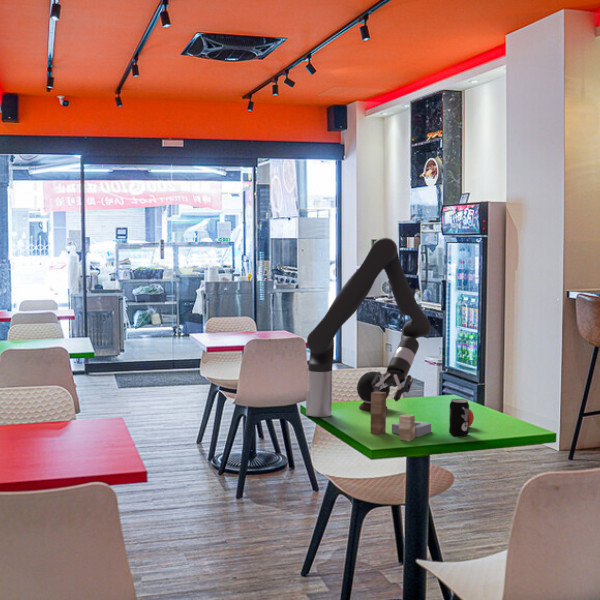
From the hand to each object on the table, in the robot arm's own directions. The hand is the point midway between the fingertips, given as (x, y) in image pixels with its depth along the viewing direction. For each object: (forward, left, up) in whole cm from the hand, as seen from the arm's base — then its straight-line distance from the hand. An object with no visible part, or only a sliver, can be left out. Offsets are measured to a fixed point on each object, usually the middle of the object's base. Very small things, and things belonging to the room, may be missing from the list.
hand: (384, 398), depth 278 cm
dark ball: (-11, +37, -12) cm, 41 cm away
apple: (+26, +14, -12) cm, 32 cm away
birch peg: (+10, -10, -11) cm, 18 cm away
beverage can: (+26, +2, -12) cm, 28 cm away
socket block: (+10, 0, -11) cm, 15 cm away
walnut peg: (-1, -4, -11) cm, 12 cm away
